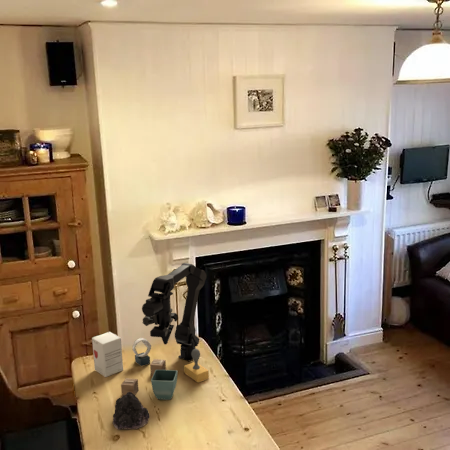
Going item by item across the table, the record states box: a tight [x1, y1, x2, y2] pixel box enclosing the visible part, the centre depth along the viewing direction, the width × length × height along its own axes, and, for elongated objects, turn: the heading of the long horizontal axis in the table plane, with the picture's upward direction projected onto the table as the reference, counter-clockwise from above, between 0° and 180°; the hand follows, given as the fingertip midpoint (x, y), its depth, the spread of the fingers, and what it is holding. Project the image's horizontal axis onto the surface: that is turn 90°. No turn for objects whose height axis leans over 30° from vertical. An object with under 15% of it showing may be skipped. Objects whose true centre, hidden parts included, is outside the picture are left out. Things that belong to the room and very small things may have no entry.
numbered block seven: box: [149, 358, 167, 377], centre depth 236 cm, size 5×5×5 cm
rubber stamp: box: [183, 348, 210, 383], centre depth 233 cm, size 10×6×12 cm, turn 36°
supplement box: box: [91, 331, 124, 378], centre depth 239 cm, size 9×9×15 cm
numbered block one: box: [120, 377, 140, 397], centre depth 221 cm, size 5×5×5 cm
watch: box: [132, 337, 152, 367], centre depth 245 cm, size 6×8×11 cm
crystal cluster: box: [112, 392, 151, 430], centre depth 203 cm, size 13×14×10 cm
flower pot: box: [150, 369, 179, 400], centre depth 218 cm, size 9×9×9 cm
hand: (165, 344), depth 234 cm, fingers closed
